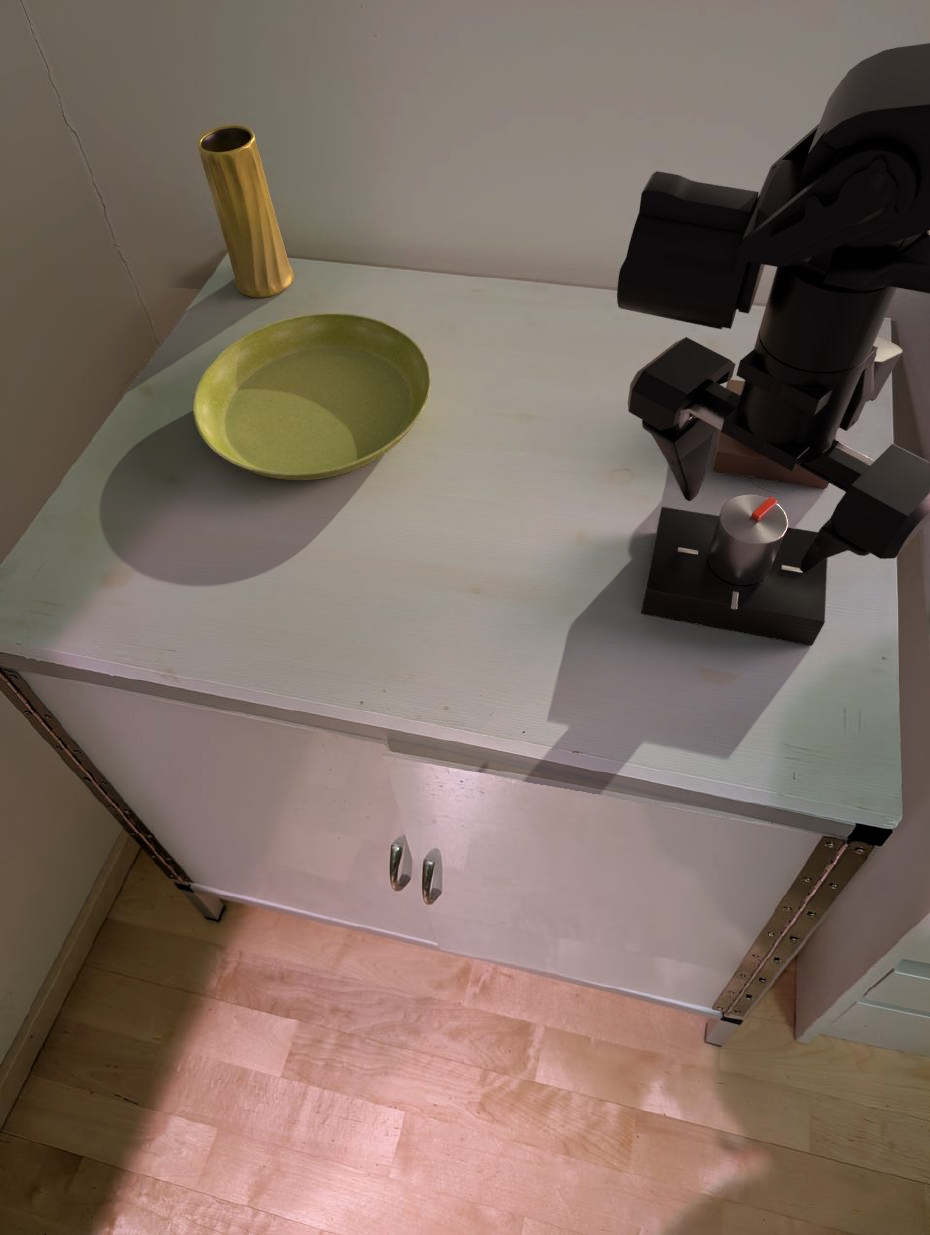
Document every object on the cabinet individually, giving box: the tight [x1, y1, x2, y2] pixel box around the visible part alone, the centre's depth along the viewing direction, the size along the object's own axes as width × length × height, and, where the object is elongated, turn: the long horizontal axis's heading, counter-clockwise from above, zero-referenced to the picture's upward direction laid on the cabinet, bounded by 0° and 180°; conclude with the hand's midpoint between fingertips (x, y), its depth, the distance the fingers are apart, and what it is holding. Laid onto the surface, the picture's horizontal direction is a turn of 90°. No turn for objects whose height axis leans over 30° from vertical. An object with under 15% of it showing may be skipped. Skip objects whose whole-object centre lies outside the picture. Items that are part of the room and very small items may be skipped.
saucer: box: [192, 312, 432, 481], centre depth 73 cm, size 21×21×3 cm
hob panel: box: [640, 506, 829, 647], centre depth 61 cm, size 12×9×3 cm
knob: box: [708, 494, 789, 585], centre depth 57 cm, size 4×4×5 cm
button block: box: [711, 378, 838, 490], centre depth 68 cm, size 9×9×4 cm
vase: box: [196, 124, 295, 298], centre depth 81 cm, size 6×6×14 cm
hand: (746, 531), depth 57 cm, fingers open, 9 cm apart
